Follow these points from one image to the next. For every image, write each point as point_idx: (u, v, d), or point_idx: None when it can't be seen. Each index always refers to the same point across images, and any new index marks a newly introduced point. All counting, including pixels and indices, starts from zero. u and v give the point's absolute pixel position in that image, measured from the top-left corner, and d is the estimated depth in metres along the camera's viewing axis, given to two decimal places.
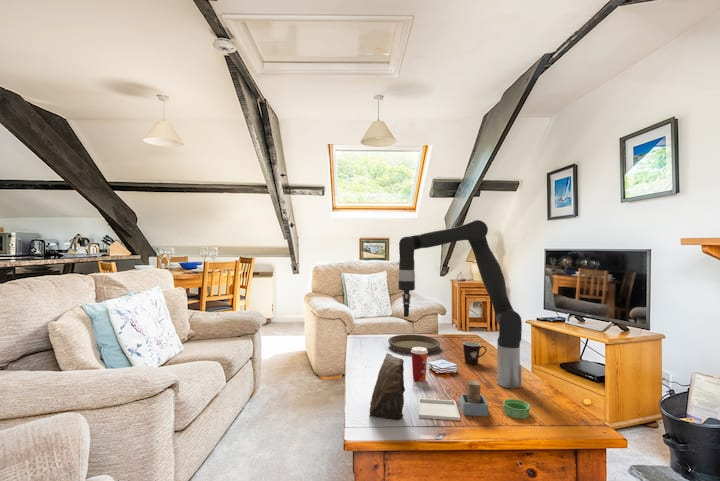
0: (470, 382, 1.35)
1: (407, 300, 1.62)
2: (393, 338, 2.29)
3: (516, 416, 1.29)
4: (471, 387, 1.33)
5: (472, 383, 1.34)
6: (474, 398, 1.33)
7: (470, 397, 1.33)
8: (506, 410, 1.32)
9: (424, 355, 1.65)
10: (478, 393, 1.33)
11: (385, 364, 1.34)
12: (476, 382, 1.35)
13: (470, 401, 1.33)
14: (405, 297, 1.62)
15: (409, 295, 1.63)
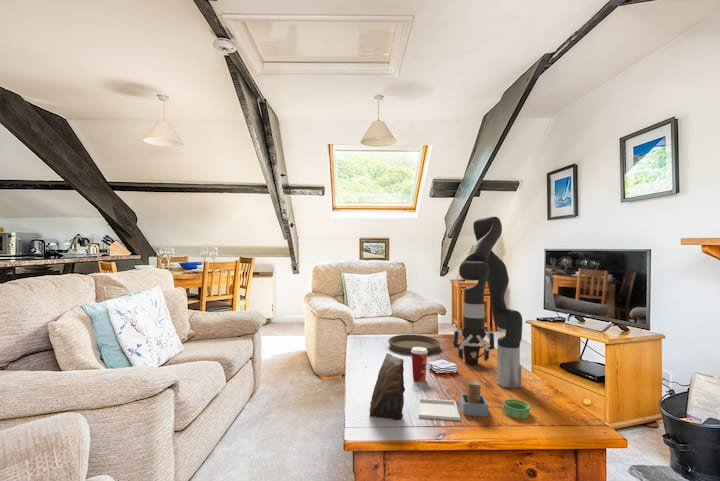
0: (470, 382, 1.35)
1: None
2: (393, 338, 2.29)
3: (516, 416, 1.29)
4: (471, 387, 1.33)
5: (472, 383, 1.34)
6: (474, 398, 1.33)
7: (470, 397, 1.33)
8: (506, 410, 1.32)
9: (424, 355, 1.65)
10: (478, 393, 1.33)
11: (385, 364, 1.34)
12: (476, 382, 1.35)
13: (470, 401, 1.33)
14: None
15: None
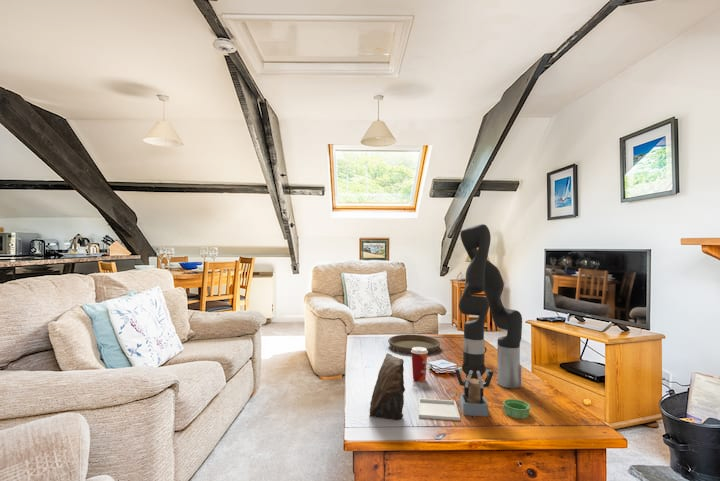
0: (470, 382, 1.35)
1: None
2: (393, 338, 2.29)
3: (516, 416, 1.29)
4: (471, 387, 1.33)
5: (472, 383, 1.34)
6: (474, 398, 1.33)
7: (470, 397, 1.33)
8: (506, 410, 1.32)
9: (424, 355, 1.65)
10: (478, 393, 1.33)
11: (385, 364, 1.34)
12: (476, 382, 1.35)
13: (470, 401, 1.33)
14: None
15: None
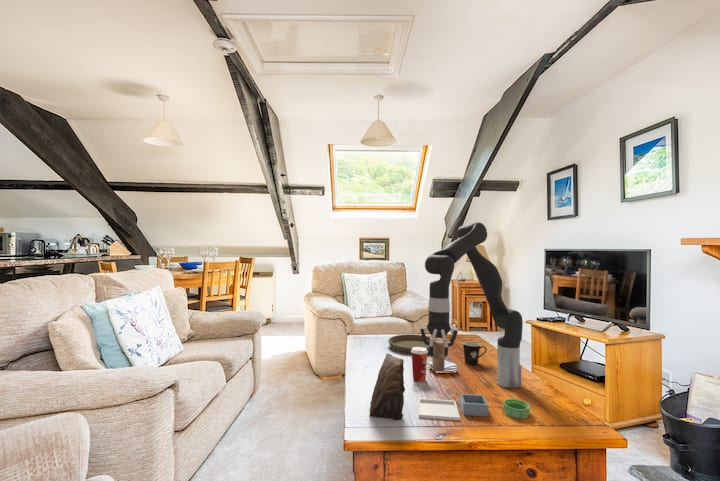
0: (435, 341, 1.35)
1: None
2: (393, 338, 2.29)
3: (516, 416, 1.29)
4: (435, 346, 1.33)
5: (436, 342, 1.34)
6: (438, 357, 1.33)
7: (434, 356, 1.33)
8: (506, 410, 1.32)
9: (424, 355, 1.65)
10: (442, 352, 1.32)
11: (385, 364, 1.34)
12: (441, 341, 1.35)
13: (434, 360, 1.33)
14: None
15: None
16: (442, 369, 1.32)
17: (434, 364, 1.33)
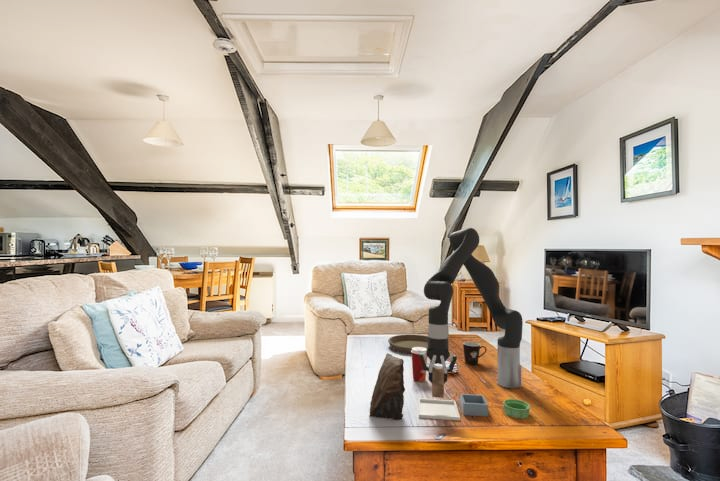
0: (434, 367, 1.35)
1: None
2: (393, 338, 2.29)
3: (516, 416, 1.29)
4: (435, 372, 1.33)
5: (436, 368, 1.34)
6: (438, 383, 1.33)
7: (434, 382, 1.33)
8: (506, 410, 1.32)
9: None
10: (442, 378, 1.33)
11: (385, 364, 1.34)
12: (440, 367, 1.35)
13: (434, 386, 1.33)
14: None
15: None
16: (441, 395, 1.32)
17: (433, 390, 1.33)
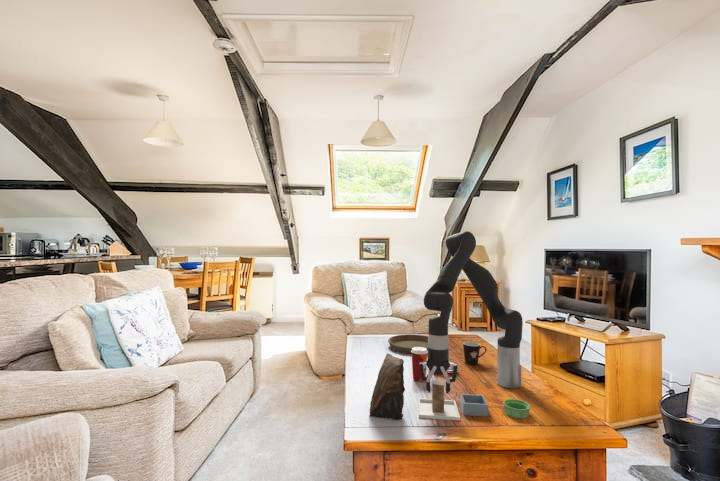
0: (434, 382, 1.35)
1: None
2: (393, 338, 2.29)
3: (516, 416, 1.29)
4: (435, 387, 1.33)
5: (436, 383, 1.34)
6: (438, 398, 1.33)
7: (434, 397, 1.33)
8: (506, 410, 1.32)
9: (424, 355, 1.65)
10: (442, 393, 1.32)
11: (385, 364, 1.34)
12: (440, 382, 1.35)
13: (434, 401, 1.33)
14: None
15: (455, 365, 1.35)
16: (442, 410, 1.32)
17: (434, 405, 1.33)
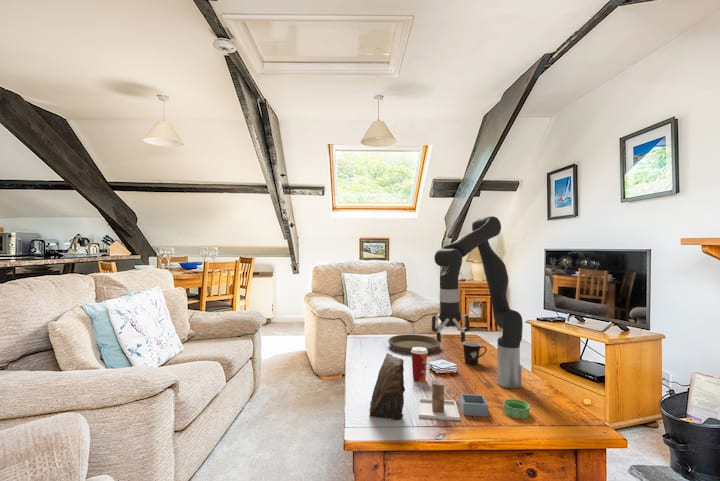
0: (434, 382, 1.35)
1: None
2: (393, 338, 2.29)
3: (516, 416, 1.29)
4: (435, 387, 1.33)
5: (436, 383, 1.34)
6: (438, 398, 1.33)
7: (434, 397, 1.33)
8: (506, 410, 1.32)
9: (424, 355, 1.65)
10: (442, 393, 1.32)
11: (385, 364, 1.34)
12: (440, 382, 1.35)
13: (434, 401, 1.33)
14: None
15: None
16: (442, 410, 1.32)
17: (434, 405, 1.33)
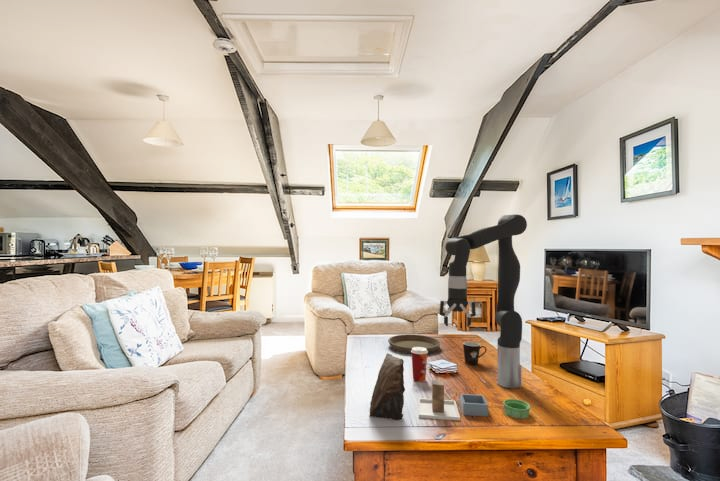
0: (434, 382, 1.35)
1: None
2: (393, 338, 2.29)
3: (516, 416, 1.29)
4: (435, 387, 1.33)
5: (436, 383, 1.34)
6: (438, 398, 1.33)
7: (434, 397, 1.33)
8: (506, 410, 1.32)
9: (424, 355, 1.65)
10: (442, 393, 1.32)
11: (385, 364, 1.34)
12: (440, 382, 1.35)
13: (434, 401, 1.33)
14: None
15: None
16: (442, 410, 1.32)
17: (434, 405, 1.33)
